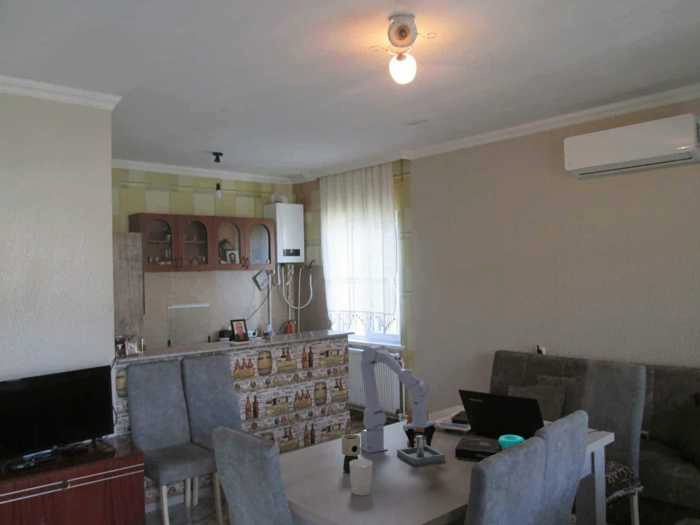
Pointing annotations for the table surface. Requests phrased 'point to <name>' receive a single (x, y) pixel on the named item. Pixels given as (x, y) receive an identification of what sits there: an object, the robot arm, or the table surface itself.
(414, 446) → the pin block
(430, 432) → the robot arm
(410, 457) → the tray
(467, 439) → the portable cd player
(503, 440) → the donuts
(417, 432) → the ammunition clip
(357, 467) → the white cup
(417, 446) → the steel pin
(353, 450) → the character mug
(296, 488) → the table surface
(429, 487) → the table surface
